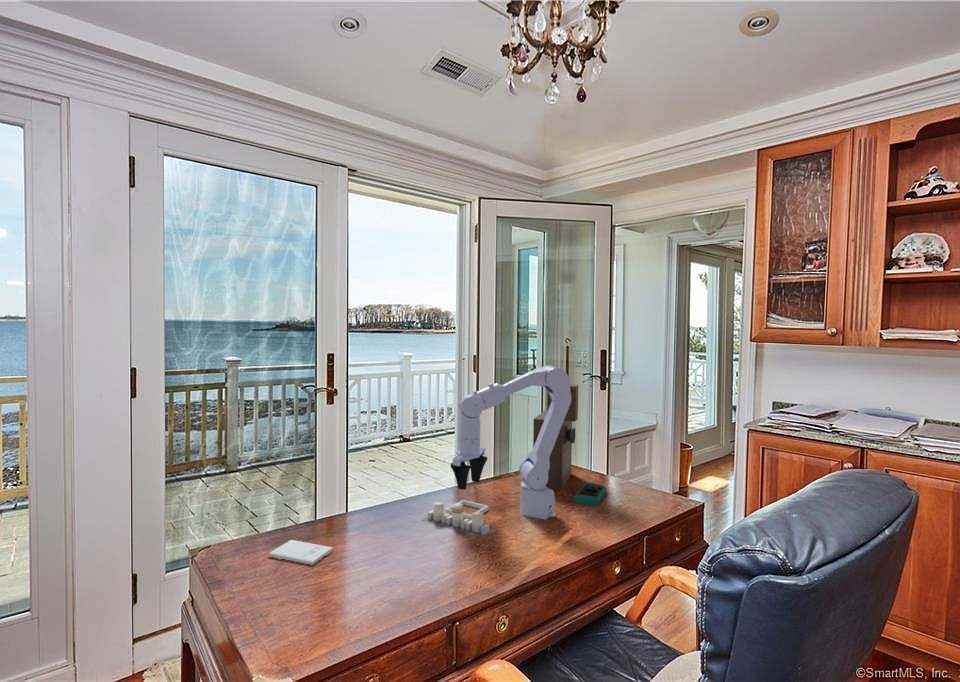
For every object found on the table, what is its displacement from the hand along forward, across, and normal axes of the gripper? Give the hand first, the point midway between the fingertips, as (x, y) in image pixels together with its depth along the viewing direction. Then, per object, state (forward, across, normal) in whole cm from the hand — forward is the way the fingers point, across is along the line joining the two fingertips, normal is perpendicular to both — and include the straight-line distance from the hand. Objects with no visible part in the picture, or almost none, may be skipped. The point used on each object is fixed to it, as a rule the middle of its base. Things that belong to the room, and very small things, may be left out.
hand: (468, 485), depth 144 cm
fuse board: (+10, +7, +1) cm, 12 cm away
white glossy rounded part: (+9, +7, -6) cm, 12 cm away
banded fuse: (+9, +7, +1) cm, 11 cm away
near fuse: (+9, +8, +7) cm, 14 cm away
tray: (+10, -3, -2) cm, 11 cm away
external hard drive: (+11, +38, -24) cm, 47 cm away
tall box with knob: (+10, -47, +8) cm, 48 cm away
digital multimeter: (+10, -36, +24) cm, 45 cm away
